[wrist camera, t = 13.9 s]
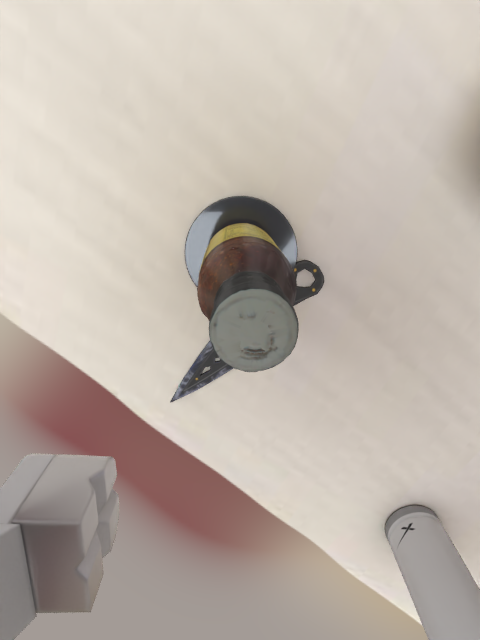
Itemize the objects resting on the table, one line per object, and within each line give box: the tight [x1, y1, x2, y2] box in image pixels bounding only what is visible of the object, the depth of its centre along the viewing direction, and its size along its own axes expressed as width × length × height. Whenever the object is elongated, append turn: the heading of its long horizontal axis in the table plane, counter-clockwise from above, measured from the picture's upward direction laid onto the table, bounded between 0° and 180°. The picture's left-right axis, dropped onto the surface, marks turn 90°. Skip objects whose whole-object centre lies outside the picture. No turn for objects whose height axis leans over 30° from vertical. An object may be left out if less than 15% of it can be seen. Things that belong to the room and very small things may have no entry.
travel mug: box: [385, 506, 480, 640], centre depth 39 cm, size 6×7×20 cm
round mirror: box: [185, 196, 297, 287], centre depth 37 cm, size 10×10×1 cm
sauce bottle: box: [197, 223, 298, 372], centre depth 28 cm, size 7×6×20 cm
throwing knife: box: [170, 260, 324, 403], centre depth 40 cm, size 4×20×1 cm, turn 135°
